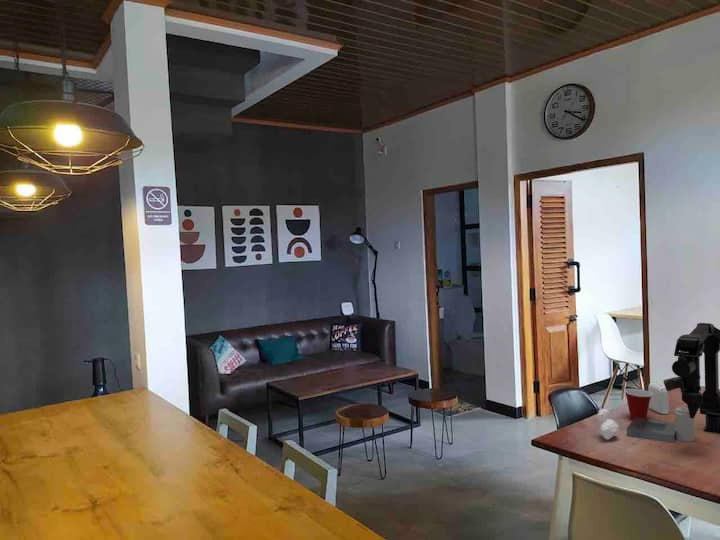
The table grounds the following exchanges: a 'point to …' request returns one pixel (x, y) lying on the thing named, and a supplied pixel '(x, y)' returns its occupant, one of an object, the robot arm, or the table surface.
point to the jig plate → (652, 430)
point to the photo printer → (659, 398)
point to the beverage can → (684, 425)
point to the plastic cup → (638, 402)
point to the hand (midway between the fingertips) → (691, 414)
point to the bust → (607, 424)
